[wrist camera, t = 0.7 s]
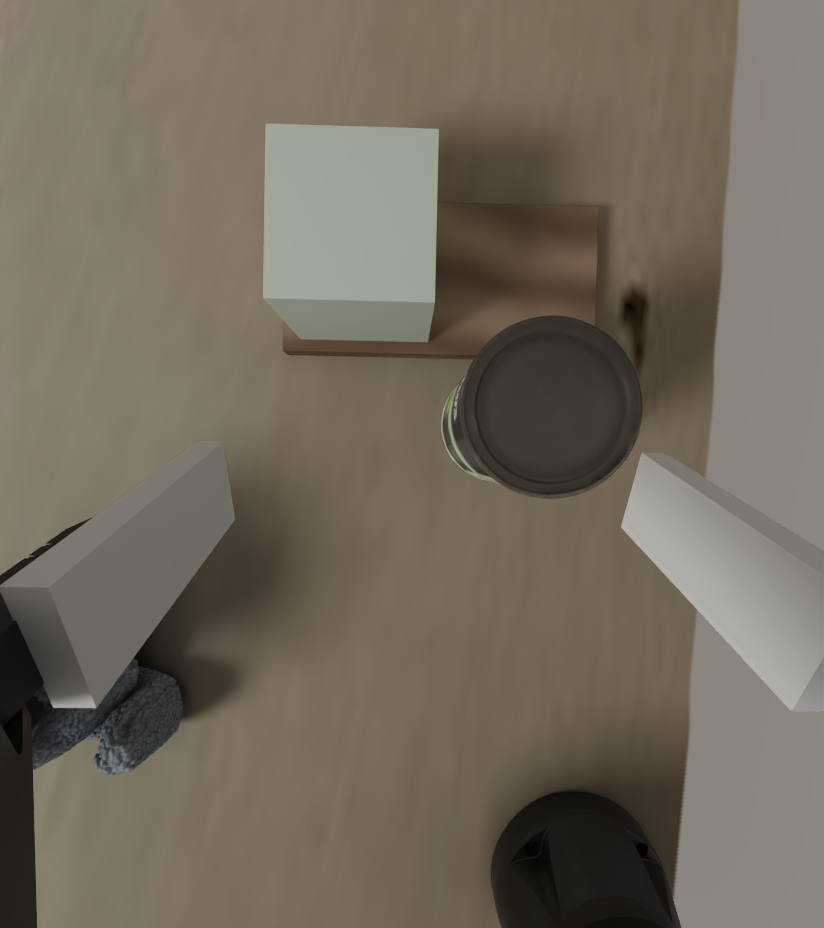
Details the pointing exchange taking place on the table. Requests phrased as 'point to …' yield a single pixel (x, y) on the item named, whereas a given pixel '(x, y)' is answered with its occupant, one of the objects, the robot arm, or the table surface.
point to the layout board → (492, 278)
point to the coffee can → (545, 409)
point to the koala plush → (111, 721)
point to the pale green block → (351, 230)
